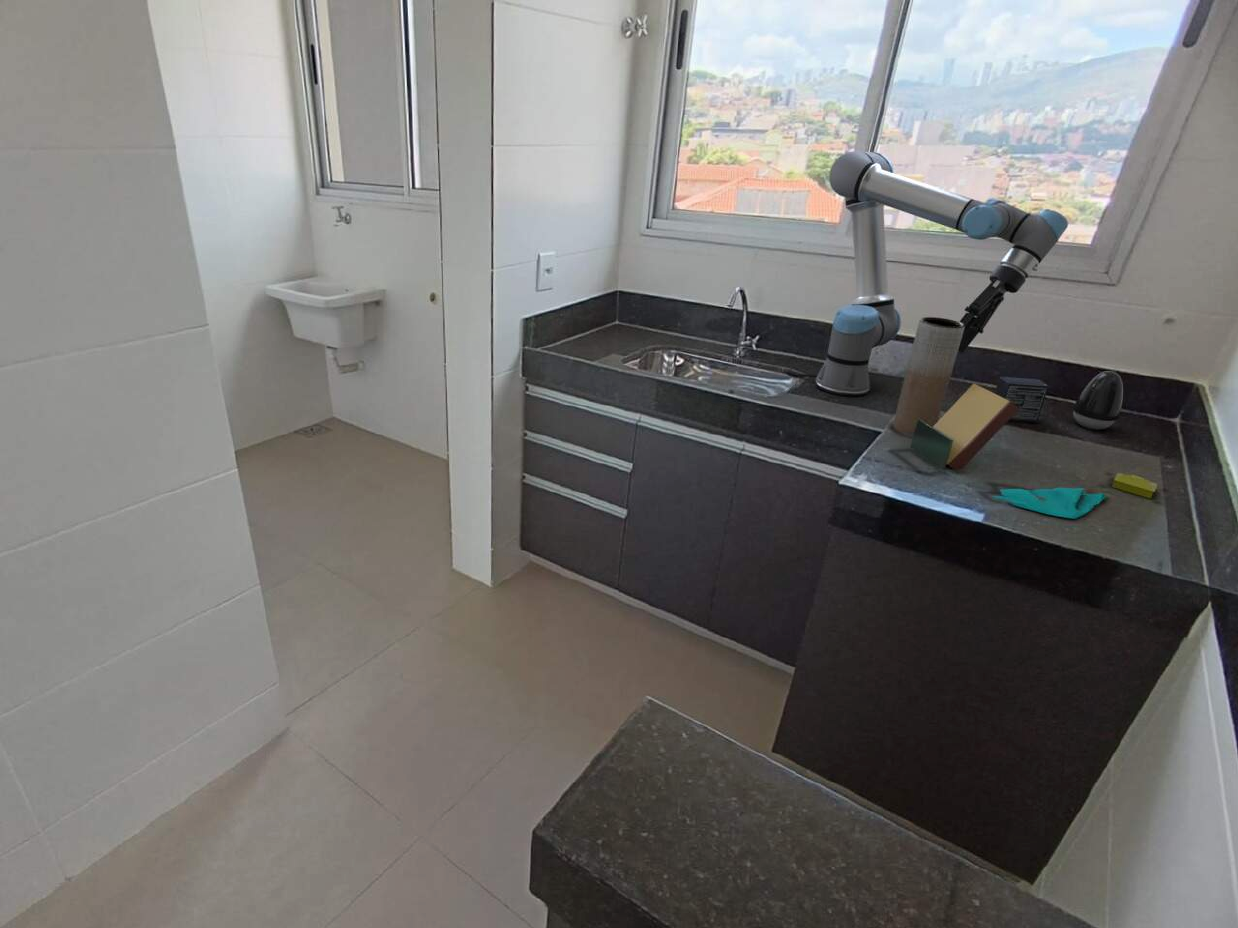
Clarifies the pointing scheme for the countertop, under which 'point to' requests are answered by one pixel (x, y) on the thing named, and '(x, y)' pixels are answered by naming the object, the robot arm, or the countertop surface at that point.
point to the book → (973, 423)
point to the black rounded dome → (1100, 401)
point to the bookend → (931, 444)
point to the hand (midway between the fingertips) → (955, 344)
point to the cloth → (1053, 500)
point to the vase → (928, 372)
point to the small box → (1023, 396)
